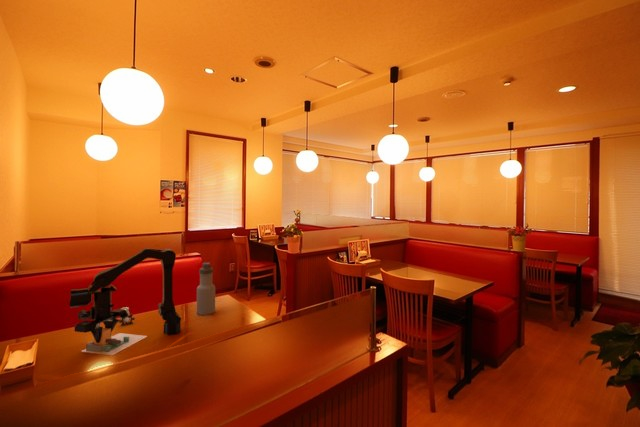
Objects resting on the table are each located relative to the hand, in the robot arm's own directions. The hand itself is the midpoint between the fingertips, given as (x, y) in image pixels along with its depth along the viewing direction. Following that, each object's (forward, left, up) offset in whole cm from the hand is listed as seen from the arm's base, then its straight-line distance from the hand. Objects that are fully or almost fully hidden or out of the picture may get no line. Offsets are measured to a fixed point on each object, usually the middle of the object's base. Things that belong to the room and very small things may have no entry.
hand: (102, 340), depth 121 cm
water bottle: (-15, -49, -4) cm, 52 cm away
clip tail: (-4, 0, -3) cm, 5 cm away
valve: (+15, -26, -4) cm, 31 cm away
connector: (-3, 0, -1) cm, 3 cm away
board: (-2, -4, -4) cm, 6 cm away
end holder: (0, 0, -3) cm, 3 cm away
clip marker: (-4, -5, -3) cm, 7 cm away
